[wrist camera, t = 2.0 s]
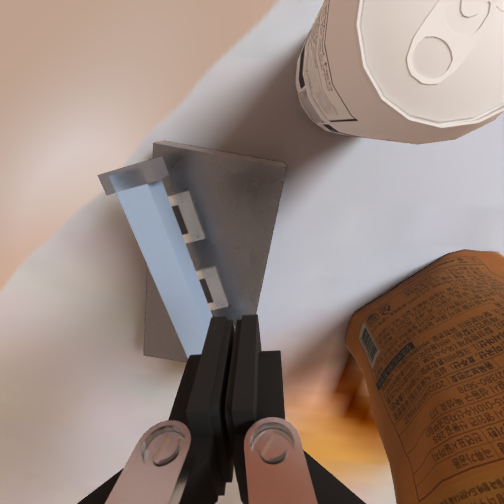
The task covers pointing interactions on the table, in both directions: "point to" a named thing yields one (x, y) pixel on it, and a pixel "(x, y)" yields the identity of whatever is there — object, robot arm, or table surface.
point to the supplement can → (404, 68)
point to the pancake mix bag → (439, 378)
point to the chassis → (216, 233)
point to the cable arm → (162, 247)
